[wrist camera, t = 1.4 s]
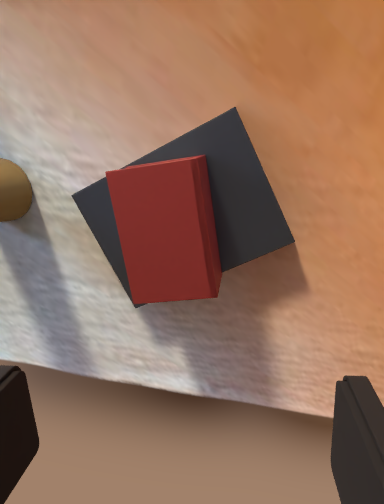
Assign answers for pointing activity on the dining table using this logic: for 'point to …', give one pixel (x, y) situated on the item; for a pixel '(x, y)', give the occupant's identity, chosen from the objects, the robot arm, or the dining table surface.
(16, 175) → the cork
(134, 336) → the dining table surface
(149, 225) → the pocket dictionary
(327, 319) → the dining table surface
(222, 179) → the slate hardcover
